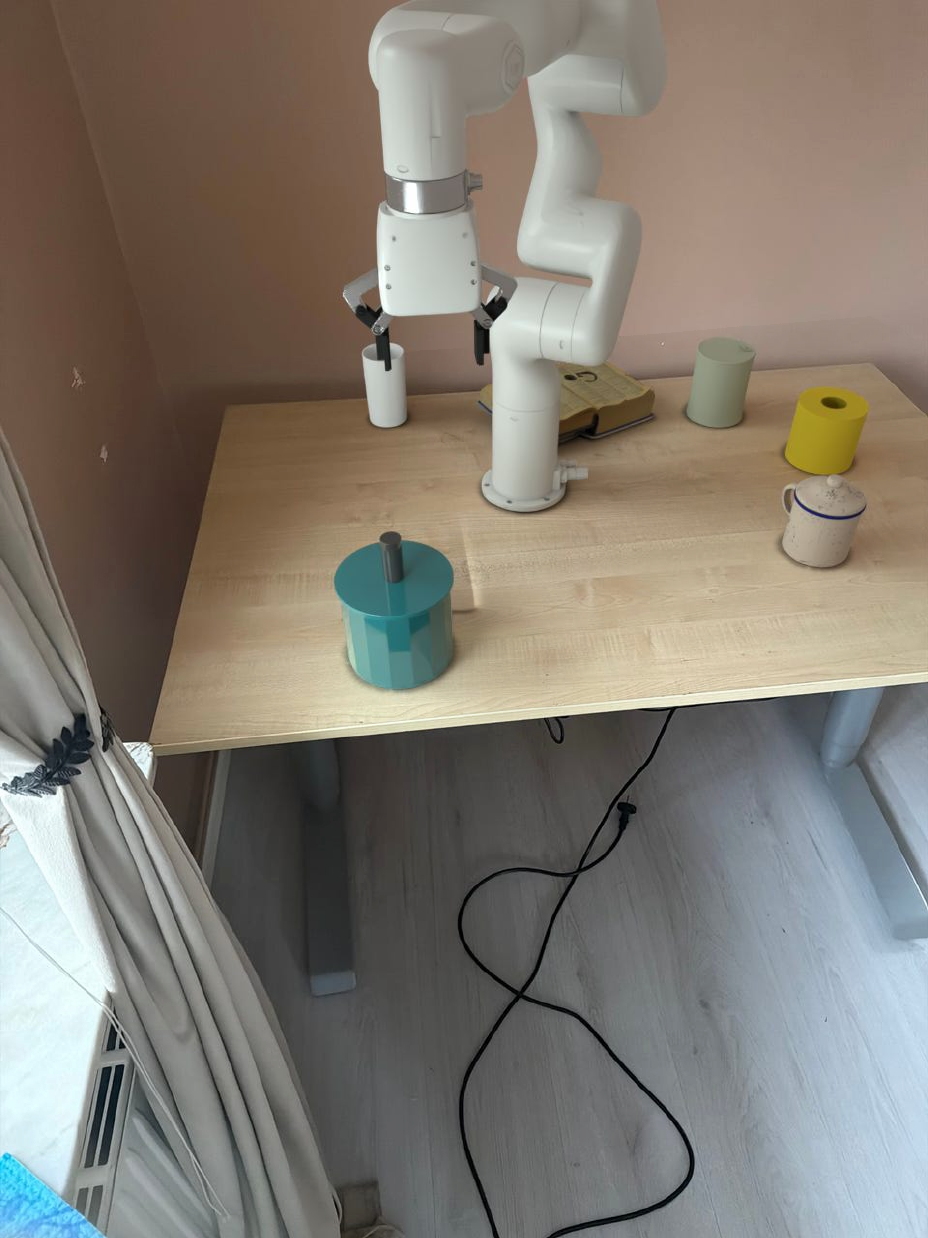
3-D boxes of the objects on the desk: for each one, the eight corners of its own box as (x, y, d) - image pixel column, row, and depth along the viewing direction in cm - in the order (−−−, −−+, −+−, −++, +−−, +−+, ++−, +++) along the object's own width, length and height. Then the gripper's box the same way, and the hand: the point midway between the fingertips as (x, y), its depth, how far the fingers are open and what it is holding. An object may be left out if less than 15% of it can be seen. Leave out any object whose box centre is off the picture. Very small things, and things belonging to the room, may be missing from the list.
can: (747, 427, 147) (762, 359, 139) (691, 428, 147) (703, 360, 139) (735, 399, 154) (749, 333, 146) (682, 400, 154) (692, 334, 146)
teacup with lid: (863, 557, 122) (889, 485, 114) (812, 577, 119) (835, 505, 111) (800, 511, 130) (820, 441, 122) (751, 530, 127) (769, 459, 119)
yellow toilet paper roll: (814, 481, 135) (830, 425, 129) (771, 449, 142) (784, 395, 136) (865, 465, 138) (883, 410, 132) (821, 434, 145) (836, 381, 139)
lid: (448, 543, 108) (447, 497, 103) (459, 619, 98) (458, 572, 93) (335, 552, 107) (328, 506, 102) (334, 629, 97) (327, 582, 92)
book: (595, 378, 160) (598, 347, 156) (655, 418, 150) (659, 386, 146) (476, 416, 151) (475, 384, 147) (530, 462, 141) (531, 428, 137)
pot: (447, 613, 115) (445, 542, 107) (456, 685, 106) (454, 612, 98) (349, 621, 114) (339, 550, 106) (349, 693, 105) (338, 621, 97)
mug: (413, 423, 150) (409, 356, 142) (375, 432, 148) (368, 364, 140) (395, 396, 157) (390, 331, 149) (358, 404, 155) (351, 338, 147)
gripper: (513, 173, 86) (510, 341, 98) (332, 182, 85) (351, 351, 97) (524, 198, 80) (520, 374, 92) (331, 208, 79) (351, 384, 91)
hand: (433, 362), depth 94 cm, fingers open, 9 cm apart
